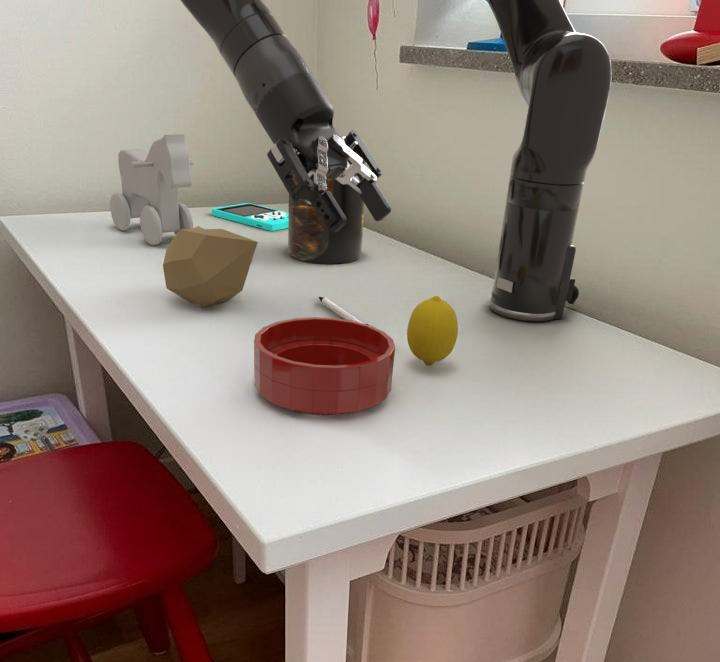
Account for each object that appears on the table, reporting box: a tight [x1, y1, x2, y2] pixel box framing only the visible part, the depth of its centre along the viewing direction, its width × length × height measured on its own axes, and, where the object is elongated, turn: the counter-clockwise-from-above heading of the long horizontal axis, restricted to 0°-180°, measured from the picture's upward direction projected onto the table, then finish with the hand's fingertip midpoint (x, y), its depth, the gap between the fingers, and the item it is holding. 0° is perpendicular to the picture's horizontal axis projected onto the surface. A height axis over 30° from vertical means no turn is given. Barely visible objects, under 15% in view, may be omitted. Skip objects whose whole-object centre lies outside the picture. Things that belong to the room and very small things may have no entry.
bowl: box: [253, 316, 396, 416], centre depth 78 cm, size 14×14×6 cm
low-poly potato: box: [162, 225, 259, 308], centre depth 100 cm, size 15×11×12 cm
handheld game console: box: [211, 202, 289, 232], centre depth 144 cm, size 10×16×1 cm, turn 51°
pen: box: [318, 296, 369, 325], centre depth 97 cm, size 1×19×1 cm, turn 28°
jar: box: [287, 161, 365, 264], centre depth 121 cm, size 12×12×15 cm
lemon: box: [406, 295, 459, 367], centre depth 85 cm, size 6×6×8 cm
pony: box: [109, 133, 195, 247], centre depth 124 cm, size 20×10×17 cm, turn 40°
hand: (363, 222), depth 84 cm, fingers open, 8 cm apart
